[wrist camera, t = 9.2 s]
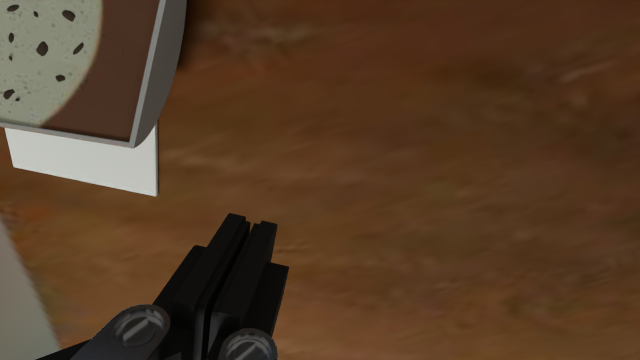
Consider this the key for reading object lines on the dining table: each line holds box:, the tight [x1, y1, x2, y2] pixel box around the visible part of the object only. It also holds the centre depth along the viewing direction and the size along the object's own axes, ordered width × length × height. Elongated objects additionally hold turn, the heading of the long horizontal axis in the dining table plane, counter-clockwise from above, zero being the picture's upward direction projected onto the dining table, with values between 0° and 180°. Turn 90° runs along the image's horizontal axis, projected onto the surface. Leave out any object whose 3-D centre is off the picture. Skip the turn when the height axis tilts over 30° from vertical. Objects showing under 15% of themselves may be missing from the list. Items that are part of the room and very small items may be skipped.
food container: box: [0, 0, 187, 149], centre depth 17 cm, size 12×6×10 cm
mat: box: [5, 122, 158, 196], centre depth 22 cm, size 10×11×1 cm
